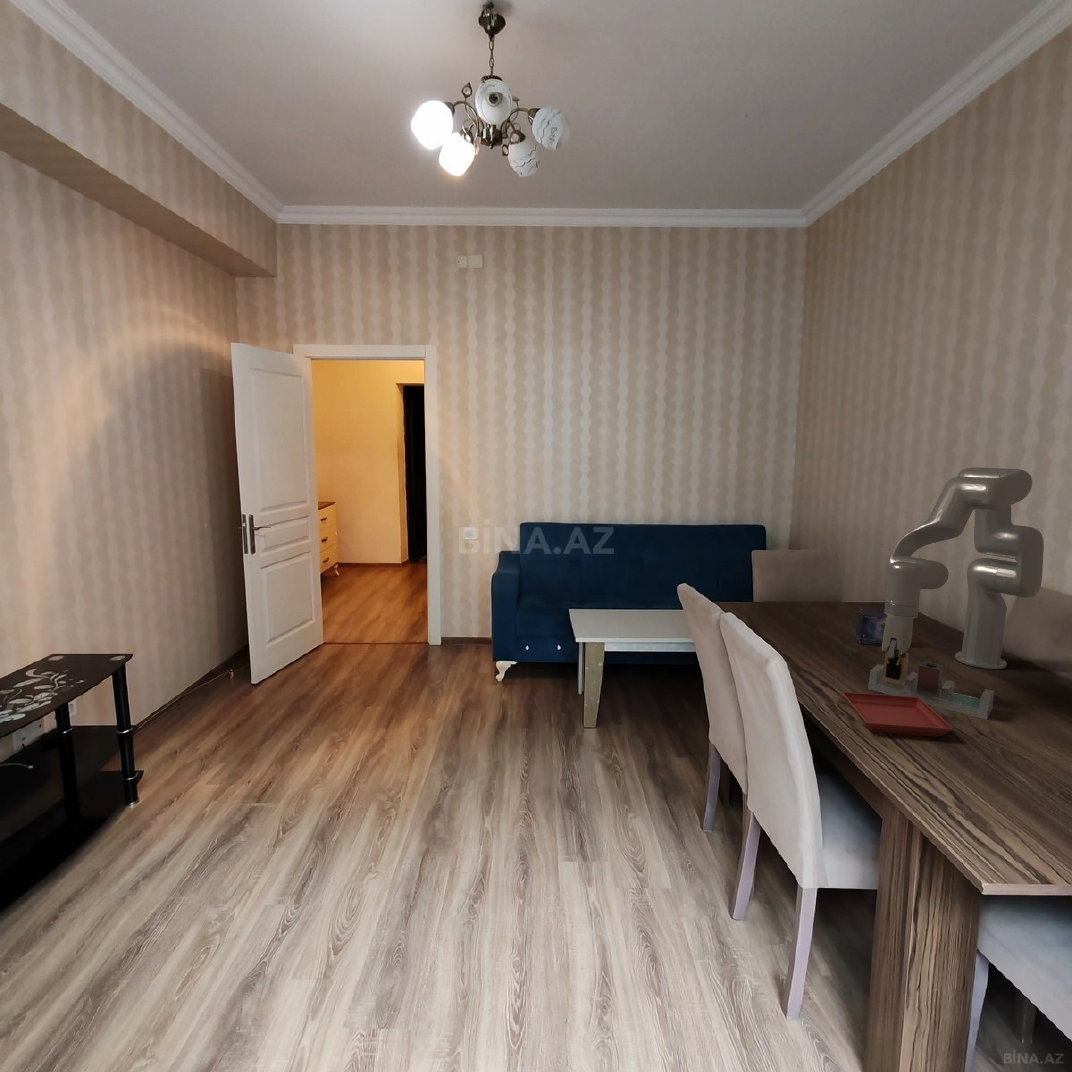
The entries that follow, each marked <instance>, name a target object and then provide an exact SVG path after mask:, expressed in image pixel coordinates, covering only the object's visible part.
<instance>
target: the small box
mask: <svg viewBox="0 0 1072 1072" xmlns="http://www.w3.org/2000/svg"><path fill="white" fill-rule="evenodd" d="M884 612H885V610H874V609H873V610H872V609H860V608H859V609H858V611H857V619H856V621H857V622H856V628H855V629H856V631H855V638H854V639H855V640H856V641H857V642H858V644H859V645H861V646H871V647H872V646H874V647H882V642H883V635H884V628H885V622H886V618H887V614H885V613H884Z"/></svg>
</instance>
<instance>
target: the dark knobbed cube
mask: <svg viewBox="0 0 1072 1072" xmlns="http://www.w3.org/2000/svg"><path fill="white" fill-rule="evenodd" d="M943 673H944V664H938V663H934V662H929V661H926V660H925V661H924V660H923V661H922V662H921V663H920V664H919V665H918V680H917V689H916V692H920V693H924V694H928V695H932V696H938V694H939V693H940V692H941V688H942V683H943Z"/></svg>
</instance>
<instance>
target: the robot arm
mask: <svg viewBox="0 0 1072 1072" xmlns="http://www.w3.org/2000/svg"><path fill="white" fill-rule="evenodd" d="M1032 486H1033V478H1032V476H1031V474H1030V473H1029V472H1028V471H1026V470H1025V469H1019V468H1000V467H978V466H977V467H976V466H975V467H967V468H966V467H965V468H963V469H961V470H959V472H958V473H957V475H956V476H955V477H953V478H951V479H949V480H948V481H946V483H945V484H944V487H943V488H942V490H941V492H940V494H939V497H938V498H937V501H936V502H935V505H934V506H933V508H932V511H931V513H930V515H929V516H928V518H927V520H926V521H925V522H924V523H922V524H920V525H918V526H916V527H915V528H913V529H912V530H910V531H909V532H907V533H906V534H904V535H903V536H902V537H901V538H900V539H899V540H898V541H897V542H896V544H895V546H894V547H893V549H892V551H891V553H890V556H889V558H888V560H887V562H886V566H885V573H886V576H887V578H886V579H887V580H886V588H885V589H886V591H885V603H884V611H885V612H884V613H885V614H887V618H886V622H885V628H884V635H883V642H882V646H881V651H882V652H888V655H887V657H888V658H887V665H886V677H887V678H891V679H895V680H899V679H900V670H901V665H900V658H901V655H902V654H903V653H907V651H908V650H909V649H910V647H911V645H912V638H913V628H914V619H917V618H918V615H919V606H920V598H921V597H920V595H921V590H937V589H940V588H941V587H943V586H944V585H945V584H946V583H947V581H948V579H949V570H948V568H947V566H946V565H945V564H943V563H941V562H939V561H937V560H932V559H926V558H921V557H914V556H913V554H914V553H916V551H918V550H919V549H922V548H923V547H926V546H928V545H931V544H936V543H939V542H944V541H948V540H953V539H955V538H958V537H959V536H961V535H962V533H963V531H964V529H965V527H966V525H967V523H968V521H969V519H970V518H971V515H972V513H973V511H974V526H973V527H974V528H973V529H974V531H973V533H974V534H973V540H974V541H973V542H974V543H973V544H974V548H975V550H976V551H977V552H978V553H979V554H982V555H987V556H992V557H991V558H990V557H979V558H976V559H974V560H972V561H971V562H970V563H969V564H968V566H967V569H966V579H967V591H968V592H967V603H966V614H965V621H964V628H963V639H962V647H961V651H958V652H956V653H955V655H954V658H955V660H957V661H958V662H960V663H962V664H964V665H967V666H970V667H976V668H979V669H980V668H981V669H985V670H1002V669H1005V668H1007V661H1006V660H1005V659H1004V658H1001V657H1002V649H1003V642H1004V635H1005V634H1004V633H1005V625H1006V617H1007V613H1008V609H1007V608H1008V607H1007V603H1006V601H1005V599H1004V598H1003V596H1002V594H1004V595H1009V596H1014V597H1020V598H1032V597H1035V596H1036V595H1038V593H1039V591H1040V589H1041V588H1042V587H1041V586H1042V580H1043V568H1044V567H1043V566H1044V548H1045V544H1044V538H1043V533H1041V531H1039V529H1037V528H1035V527H1032V526H1026V525H1017V524H1014V523H1012V505H1014V504H1017V503H1019V502H1021V501H1022V500H1024V499H1026V497H1027V496H1028V495H1029V494H1030V493H1031V490H1032V488H1033V487H1032ZM993 557H1000V558H1005V560H1004V559H999V558H998V559H997V558H993ZM1006 559H1012V560H1015V561H1011V560H1010V561H1009V560H1006ZM895 651H898V653H895ZM907 654H908V653H907ZM895 655H897V658H896V657H895Z"/></svg>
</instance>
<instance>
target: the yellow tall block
mask: <svg viewBox="0 0 1072 1072" xmlns="http://www.w3.org/2000/svg"><path fill="white" fill-rule="evenodd" d="M895 653H898V651H895ZM887 655H888V651H886V653H885V654H884V663H883V665H884V675H883V679H884V680H888V681H892V682H896V683H900V684H903V682H904V681H905V679H906V678H907V677H908V669H909V658H910V653H903V654H902V655H901V658H900V665H901V670H900V679H899V680H895V679H891V678H887V677H886V665H887V658H888V657H887ZM895 657H896V658H897V655H895Z"/></svg>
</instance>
